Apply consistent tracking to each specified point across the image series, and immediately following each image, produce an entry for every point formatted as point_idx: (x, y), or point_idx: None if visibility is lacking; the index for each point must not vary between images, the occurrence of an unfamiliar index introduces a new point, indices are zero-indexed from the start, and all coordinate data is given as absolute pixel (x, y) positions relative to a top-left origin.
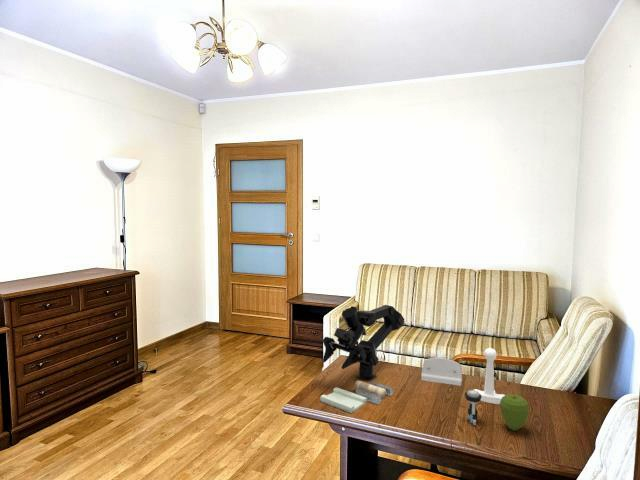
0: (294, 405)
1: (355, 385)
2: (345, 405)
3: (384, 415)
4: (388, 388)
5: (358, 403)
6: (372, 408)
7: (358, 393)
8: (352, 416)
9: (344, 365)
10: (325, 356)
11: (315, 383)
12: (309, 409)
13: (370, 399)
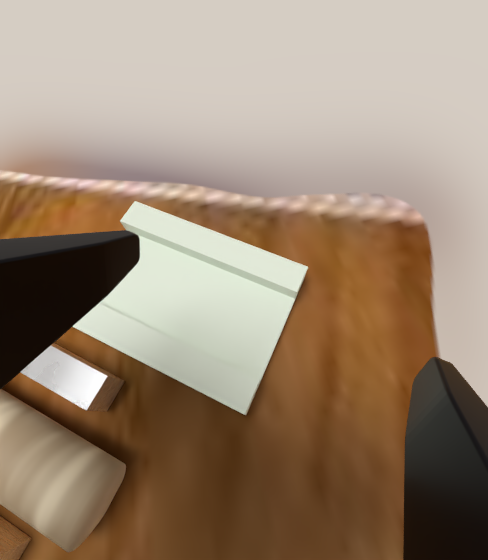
0: (406, 216)
1: (105, 463)
2: (162, 213)
3: (3, 236)
4: None
5: None
6: None
7: (95, 368)
8: (137, 199)
9: (92, 238)
10: (462, 413)
11: None
12: (325, 203)
13: None
